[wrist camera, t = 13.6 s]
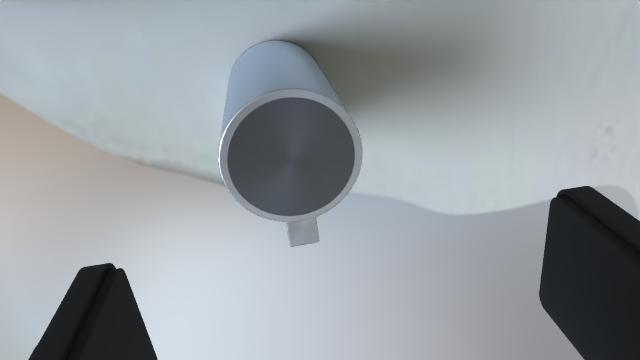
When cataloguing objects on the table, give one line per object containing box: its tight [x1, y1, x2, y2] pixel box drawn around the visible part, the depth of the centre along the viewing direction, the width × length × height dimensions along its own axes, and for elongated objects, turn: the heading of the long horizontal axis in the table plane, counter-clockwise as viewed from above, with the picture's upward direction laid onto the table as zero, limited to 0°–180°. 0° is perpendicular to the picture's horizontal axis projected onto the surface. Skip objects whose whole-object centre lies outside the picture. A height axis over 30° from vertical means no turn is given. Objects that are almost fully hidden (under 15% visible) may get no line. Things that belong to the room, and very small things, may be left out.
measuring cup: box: [218, 40, 362, 247], centre depth 22 cm, size 6×5×10 cm
